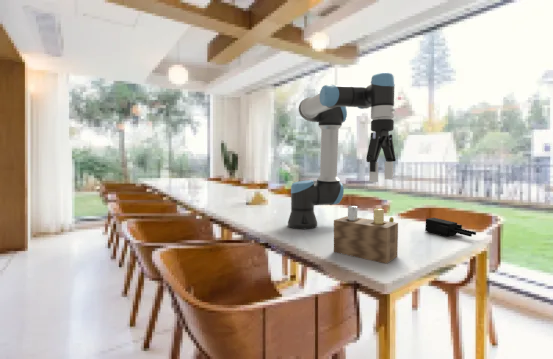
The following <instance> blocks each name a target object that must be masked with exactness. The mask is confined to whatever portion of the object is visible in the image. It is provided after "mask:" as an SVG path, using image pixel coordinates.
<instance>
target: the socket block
mask: <svg viewBox="0 0 553 359" xmlns="http://www.w3.org/2000/svg"><path fill="white" fill-rule="evenodd" d="M373 223H374V219H371V218H370V219H369V218H364V217H363V218H362V217H357V221H348V215H347V216H344V217H341V218H337V219H334V220H333V253H336V252H337V253H338V254H341V253H342V254H341V255H345V254H347V256H350V255H351V257H354V256H355V257H356V258H359V259H365V260H368V261H371V262H372V261H373V262H378V263H382V264H389V263H390V262H391V261H392V260H394V259H395V258H398V248H399V246H398V245H399V242H398V241H399V238H398V237H399V223H398V222H394V221H393V222H389V221H387V220H385V221H384V225H376V224H373ZM337 253H336V254H337ZM355 257H354V258H355Z"/></svg>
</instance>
